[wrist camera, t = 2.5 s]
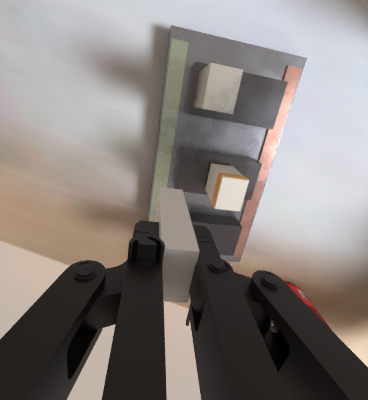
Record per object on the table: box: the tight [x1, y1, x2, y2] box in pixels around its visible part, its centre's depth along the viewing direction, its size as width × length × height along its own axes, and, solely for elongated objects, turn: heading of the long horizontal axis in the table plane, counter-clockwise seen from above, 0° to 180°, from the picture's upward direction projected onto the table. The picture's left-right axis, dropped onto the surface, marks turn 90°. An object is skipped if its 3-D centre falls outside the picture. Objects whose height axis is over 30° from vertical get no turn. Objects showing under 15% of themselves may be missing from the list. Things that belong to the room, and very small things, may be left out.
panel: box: [148, 25, 307, 262], centre depth 24 cm, size 14×26×9 cm, turn 170°
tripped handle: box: [205, 163, 249, 211], centre depth 22 cm, size 2×3×5 cm
